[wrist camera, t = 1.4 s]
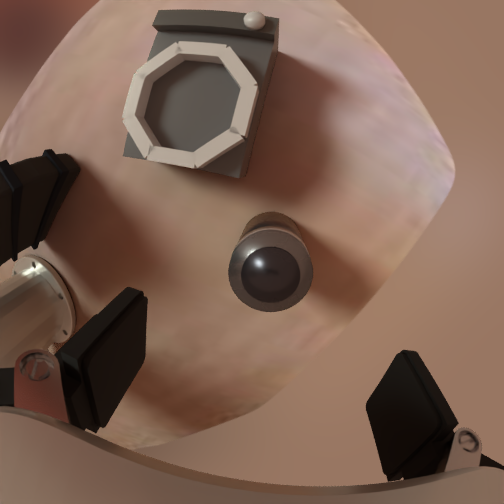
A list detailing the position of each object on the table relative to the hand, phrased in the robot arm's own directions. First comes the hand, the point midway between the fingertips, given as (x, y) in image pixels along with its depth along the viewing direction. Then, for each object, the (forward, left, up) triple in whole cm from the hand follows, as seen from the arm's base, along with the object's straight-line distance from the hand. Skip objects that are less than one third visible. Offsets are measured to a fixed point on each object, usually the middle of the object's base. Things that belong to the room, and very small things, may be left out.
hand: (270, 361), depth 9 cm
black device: (-2, +25, -17) cm, 30 cm away
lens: (0, 0, -16) cm, 16 cm away
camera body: (+11, +8, -16) cm, 21 cm away
